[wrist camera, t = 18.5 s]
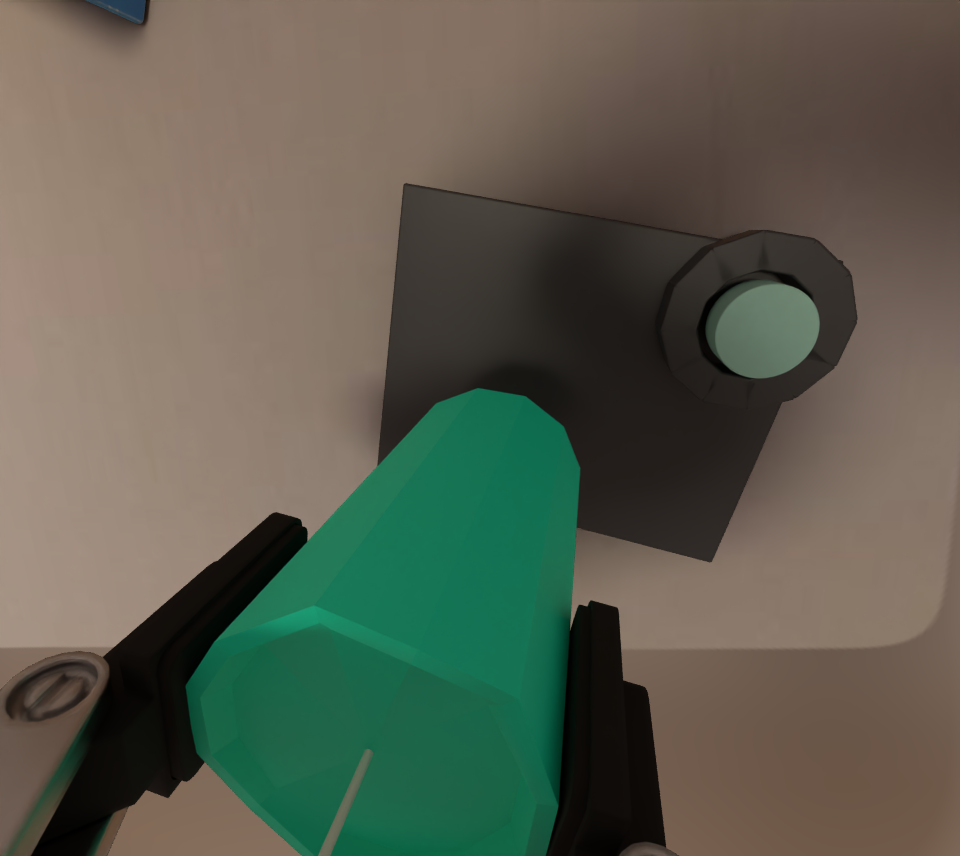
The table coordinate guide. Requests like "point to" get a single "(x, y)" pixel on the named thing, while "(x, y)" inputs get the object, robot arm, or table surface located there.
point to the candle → (412, 651)
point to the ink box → (124, 8)
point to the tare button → (762, 328)
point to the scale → (603, 349)
